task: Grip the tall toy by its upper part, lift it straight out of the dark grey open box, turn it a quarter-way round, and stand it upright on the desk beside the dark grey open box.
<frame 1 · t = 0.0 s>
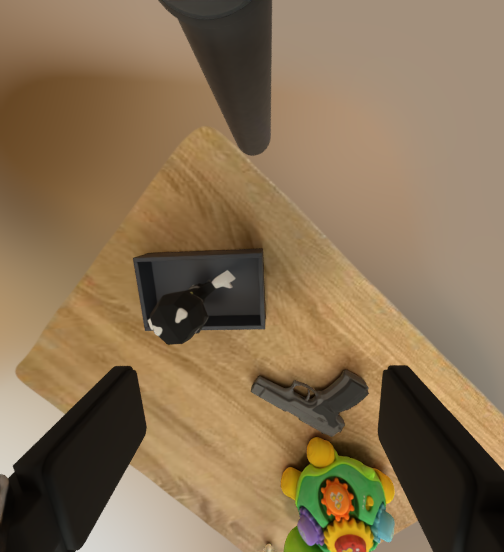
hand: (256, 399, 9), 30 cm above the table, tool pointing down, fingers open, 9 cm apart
dark grey open box: (207, 285, 40), on the table
turtle toy: (324, 479, 48), on the table
figurine: (269, 545, 53), on the table
handgun: (308, 382, 43), on the table
toy: (207, 286, 39), resting on dark grey open box
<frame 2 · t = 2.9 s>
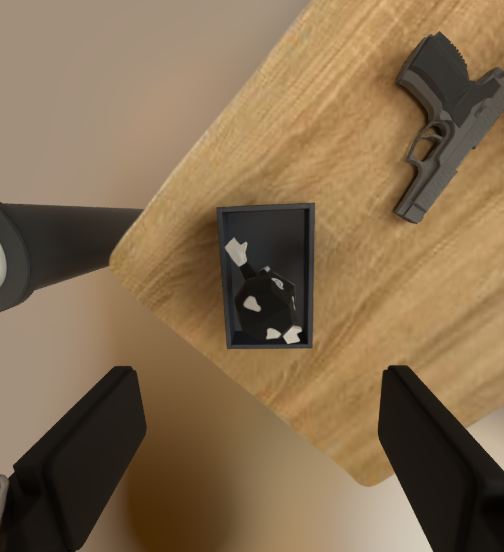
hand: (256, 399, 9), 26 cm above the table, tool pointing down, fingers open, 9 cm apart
dark grey open box: (267, 273, 35), on the table
handgun: (413, 139, 30), on the table
toy: (267, 274, 34), resting on dark grey open box
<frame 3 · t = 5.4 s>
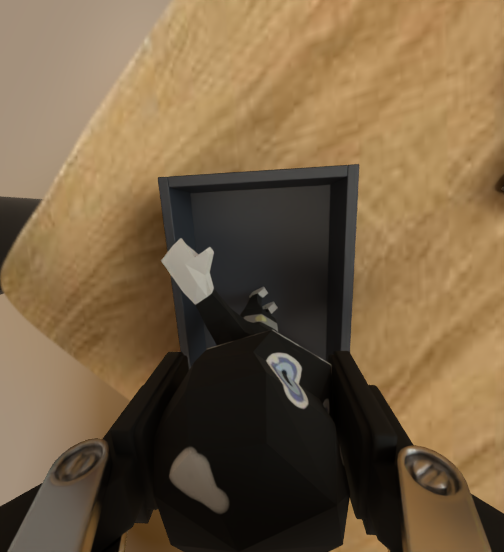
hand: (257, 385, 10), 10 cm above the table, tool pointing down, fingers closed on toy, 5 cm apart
dark grey open box: (263, 299, 20), on the table
toy: (263, 300, 20), resting on dark grey open box, touching gripper
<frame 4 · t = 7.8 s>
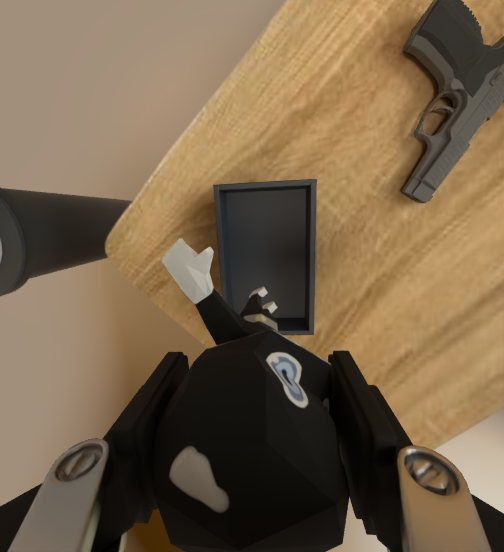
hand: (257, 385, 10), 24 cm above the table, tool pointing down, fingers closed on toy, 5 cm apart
dark grey open box: (267, 257, 33), on the table
handgun: (422, 113, 28), on the table
toy: (263, 300, 20), point 14 cm above the table, touching gripper
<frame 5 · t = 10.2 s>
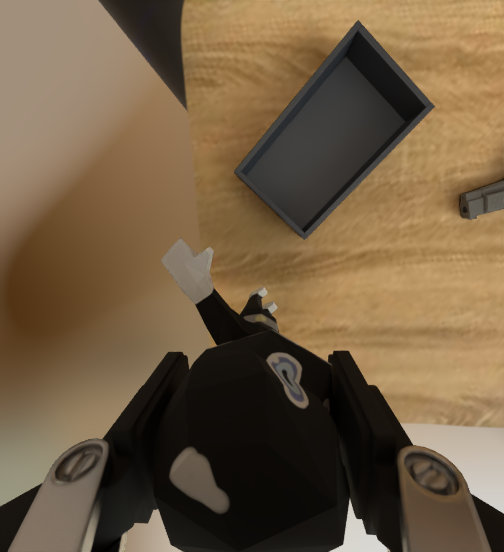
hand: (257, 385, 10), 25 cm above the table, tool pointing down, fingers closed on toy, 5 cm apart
dark grey open box: (320, 151, 31), on the table
toy: (263, 300, 20), point 15 cm above the table, touching gripper
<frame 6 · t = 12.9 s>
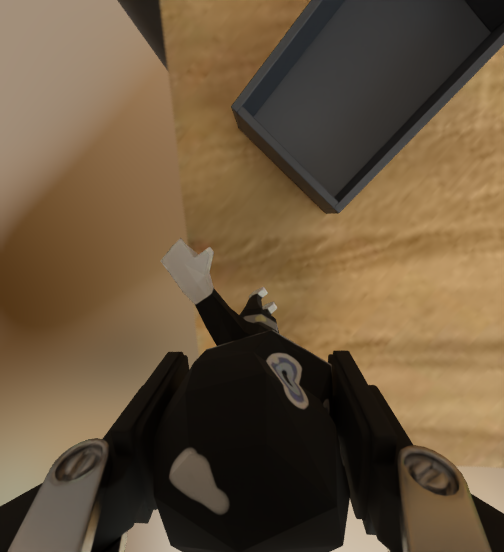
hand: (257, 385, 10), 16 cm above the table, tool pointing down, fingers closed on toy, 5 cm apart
dark grey open box: (358, 85, 21), on the table
toy: (263, 300, 20), point 6 cm above the table, touching gripper
when the fingers open (10 cm above the table, at t = 15.1 s): toy stays where it is, on the table.
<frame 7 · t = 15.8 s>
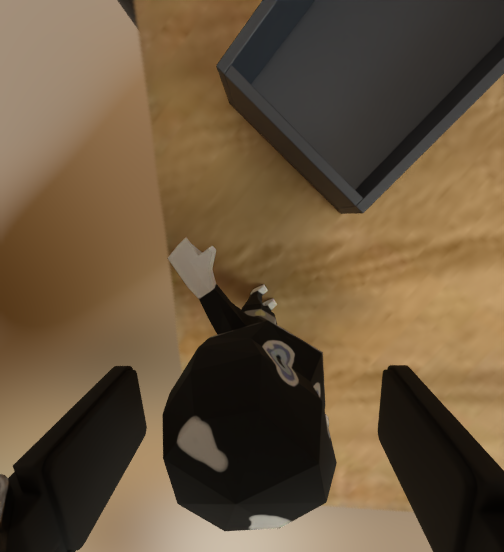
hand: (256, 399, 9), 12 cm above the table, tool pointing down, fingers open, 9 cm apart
dark grey open box: (386, 45, 16), on the table
toy: (263, 297, 21), on the table
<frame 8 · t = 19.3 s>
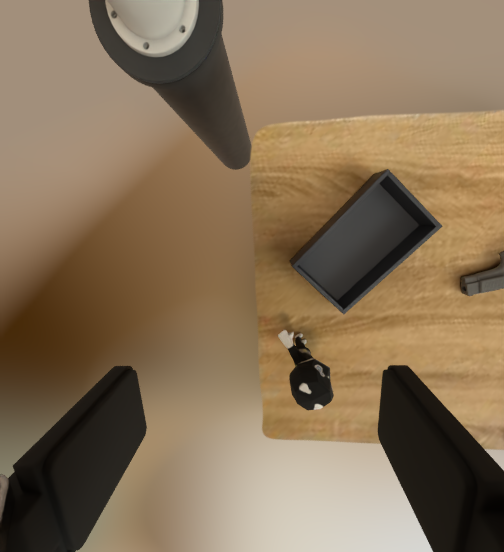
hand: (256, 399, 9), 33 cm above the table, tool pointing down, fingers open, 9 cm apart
dark grey open box: (353, 243, 40), on the table
toy: (300, 338, 45), on the table
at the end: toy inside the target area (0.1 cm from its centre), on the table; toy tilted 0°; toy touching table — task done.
